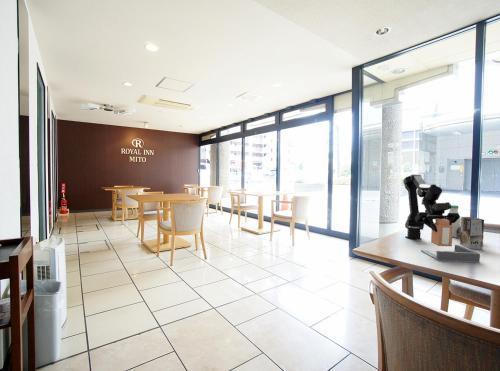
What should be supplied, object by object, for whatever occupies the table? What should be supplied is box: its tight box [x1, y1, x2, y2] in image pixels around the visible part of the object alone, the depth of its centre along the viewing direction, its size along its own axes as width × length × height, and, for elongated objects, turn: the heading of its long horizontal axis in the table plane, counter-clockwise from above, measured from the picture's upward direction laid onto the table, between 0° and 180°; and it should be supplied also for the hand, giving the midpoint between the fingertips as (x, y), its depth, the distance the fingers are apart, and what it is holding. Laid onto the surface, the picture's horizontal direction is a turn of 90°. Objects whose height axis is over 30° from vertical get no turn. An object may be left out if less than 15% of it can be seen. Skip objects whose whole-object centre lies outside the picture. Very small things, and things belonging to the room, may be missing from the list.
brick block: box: [430, 219, 453, 247], centre depth 126 cm, size 6×6×12 cm
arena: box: [421, 244, 481, 264], centre depth 125 cm, size 14×18×4 cm
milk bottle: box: [447, 204, 461, 238], centre depth 165 cm, size 8×8×20 cm
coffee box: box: [459, 216, 485, 250], centre depth 142 cm, size 9×6×16 cm
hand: (443, 231), depth 125 cm, fingers closed on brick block, 6 cm apart
